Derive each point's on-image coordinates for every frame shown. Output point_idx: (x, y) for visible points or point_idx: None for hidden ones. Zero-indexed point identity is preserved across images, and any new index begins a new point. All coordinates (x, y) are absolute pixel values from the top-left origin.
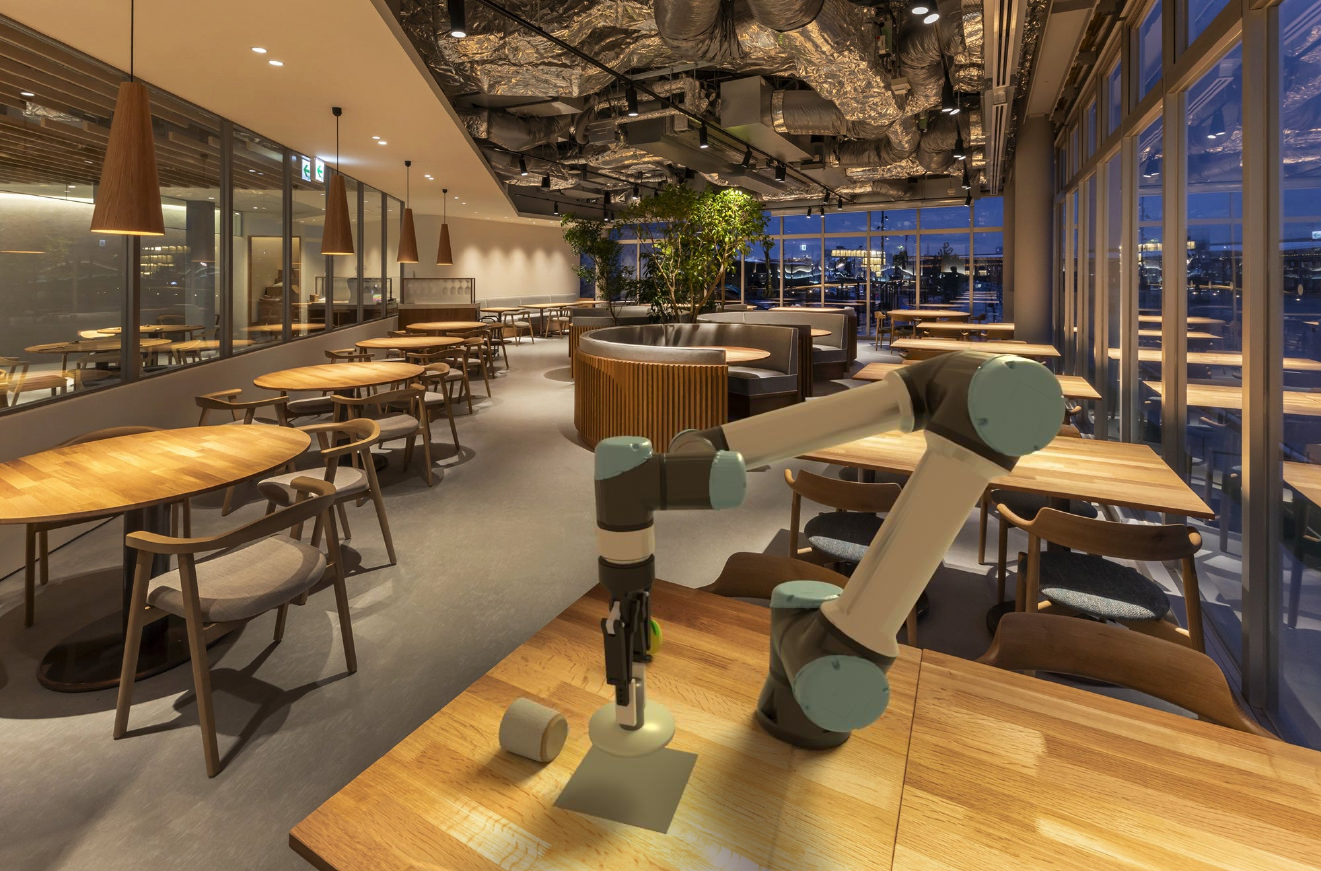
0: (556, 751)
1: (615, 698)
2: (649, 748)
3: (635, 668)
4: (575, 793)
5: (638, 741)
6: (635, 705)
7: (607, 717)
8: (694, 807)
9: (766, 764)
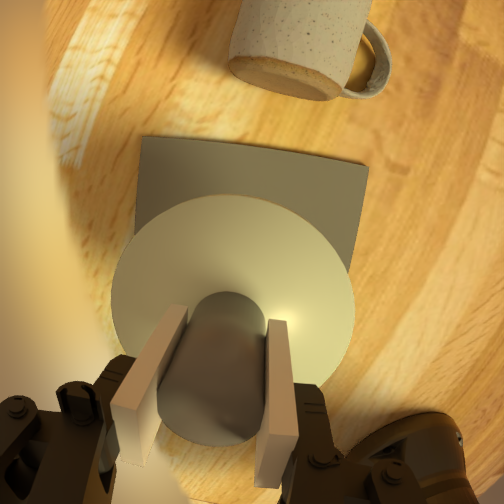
0: (280, 90)
1: (141, 351)
2: None
3: (259, 454)
4: (178, 167)
5: None
6: None
7: (242, 250)
8: None
9: None
